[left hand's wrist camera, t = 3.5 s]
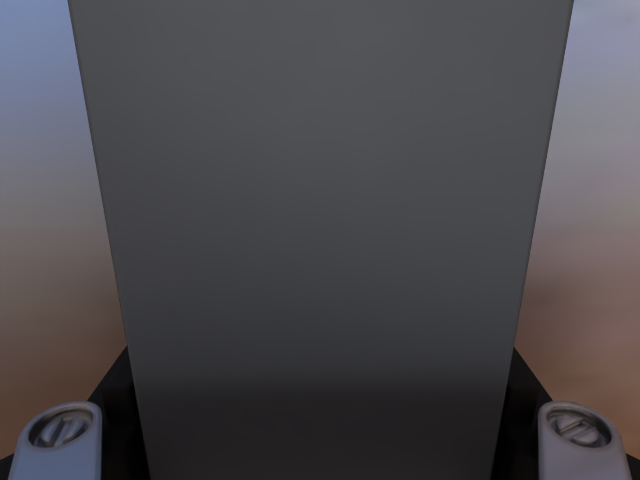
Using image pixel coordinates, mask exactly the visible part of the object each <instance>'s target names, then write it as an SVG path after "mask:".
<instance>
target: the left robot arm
mask: <svg viewBox="0 0 640 480" xmlns="http://www.w3.org/2000/svg"><path fill="white" fill-rule="evenodd" d="M0 480H151V479H150V473H149V468H148V462H147V456H146V450H145V445H144V439H143V433H142V427H141V422H140V416H139V410H138V404H137V398H136V393H135V387H134V381H133V375H132V370H131V364H130V358H129V352H128V346H126V348H125V349H124V350H123V352H122V353H121V354H120V356H119V357H118V359H117V360H116V361H115V363H114V364H113V366H112V367H111V368H110V370H109V371H108V372H107V374H106V375H105V377H104V378H103V379H102V381H101V382H100V384H99V385H98V386H97V388H96V389H95V390H94V392H93V393H92V395H91V396H90V397H89V399H88V400H87V401H71V402H65V403H62V404H59V405H56V406H53V407H51V408H49V409H47V410H45V411H43V412H41V413H40V414H38V415H37V416H35V417H34V418H33V419H31V420H30V421H29V422H28V423H27V424H26V426H25V427H24V428H23V429H22V431H21V433H20V435H19V438H18V442H17V446H16V450H15V453H14V454H12V455H10V456H8V457H6V458H3V459H1V460H0ZM490 480H640V460H639V459H637V458H634V457H632V456H630V455H628V454H626V453H625V450H624V446H623V442H622V438H621V435H620V433H619V431H618V429H617V428H616V427H615V426H614V424H613V423H612V422H611V421H610V420H609V419H607V418H606V417H605V416H603V415H602V414H600V413H599V412H597V411H595V410H593V409H591V408H589V407H587V406H584V405H581V404H578V403H575V402H569V401H553V400H552V399H551V397H550V396H549V395H548V393H547V392H546V390H545V389H544V388H543V386H542V385H541V384H540V382H539V381H538V379H537V378H536V377H535V375H534V374H533V372H532V371H531V370H530V368H529V367H528V366H527V364H526V363H525V361H524V360H523V359H522V357H521V356H520V354H519V353H518V352H517V350H516V349H515V347H513V353H512V359H511V364H510V370H509V376H508V382H507V387H506V393H505V399H504V405H503V410H502V416H501V422H500V427H499V433H498V439H497V445H496V450H495V456H494V462H493V468H492V473H491V479H490Z"/></svg>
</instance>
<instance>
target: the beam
mask: <svg viewBox="0 0 640 480" xmlns="http://www.w3.org/2000/svg"><path fill="white" fill-rule="evenodd" d="M573 3H574V0H68V6H69V11H70V17H71V23H72V29H73V35H74V40H75V46H76V52H77V58H78V63H79V69H80V75H81V81H82V87H83V92H84V98H85V104H86V110H87V115H88V121H89V127H90V133H91V139H92V144H93V150H94V156H95V162H96V167H97V173H98V179H99V185H100V190H101V196H102V202H103V208H104V214H105V219H106V225H107V231H108V237H109V242H110V248H111V254H112V260H113V266H114V271H115V277H116V283H117V289H118V294H119V300H120V306H121V312H122V318H123V323H124V329H125V335H126V341H127V346H128V352H129V358H130V364H131V370H132V375H133V381H134V387H135V393H136V398H137V404H138V410H139V416H140V422H141V427H142V433H143V439H144V445H145V450H146V456H147V462H148V468H149V473H150V479H151V480H490V479H491V473H492V468H493V462H494V456H495V450H496V445H497V439H498V433H499V427H500V422H501V416H502V410H503V405H504V399H505V393H506V387H507V382H508V376H509V370H510V364H511V359H512V353H513V347H514V341H515V336H516V330H517V324H518V318H519V313H520V307H521V301H522V295H523V290H524V284H525V278H526V272H527V267H528V261H529V255H530V249H531V244H532V238H533V232H534V226H535V221H536V215H537V209H538V204H539V198H540V192H541V186H542V181H543V175H544V169H545V163H546V158H547V152H548V146H549V140H550V135H551V129H552V123H553V117H554V112H555V106H556V100H557V94H558V89H559V83H560V77H561V71H562V66H563V60H564V54H565V48H566V43H567V37H568V31H569V25H570V20H571V14H572V8H573Z"/></svg>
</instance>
